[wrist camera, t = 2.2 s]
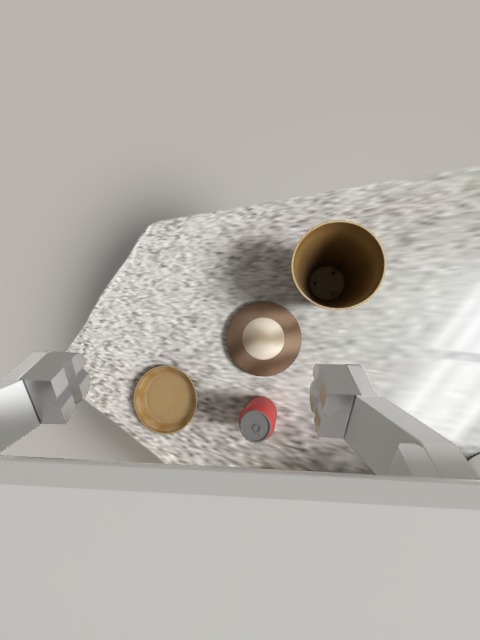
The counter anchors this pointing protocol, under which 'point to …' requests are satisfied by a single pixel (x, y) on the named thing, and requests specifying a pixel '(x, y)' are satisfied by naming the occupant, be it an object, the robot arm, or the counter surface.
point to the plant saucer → (165, 400)
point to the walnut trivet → (263, 338)
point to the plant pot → (338, 265)
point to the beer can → (258, 419)
